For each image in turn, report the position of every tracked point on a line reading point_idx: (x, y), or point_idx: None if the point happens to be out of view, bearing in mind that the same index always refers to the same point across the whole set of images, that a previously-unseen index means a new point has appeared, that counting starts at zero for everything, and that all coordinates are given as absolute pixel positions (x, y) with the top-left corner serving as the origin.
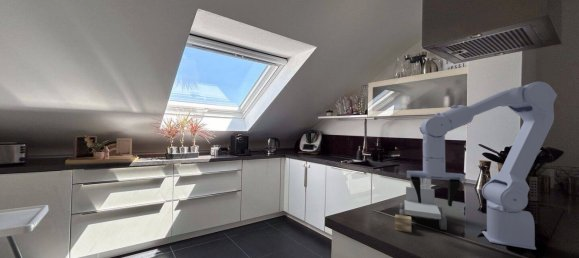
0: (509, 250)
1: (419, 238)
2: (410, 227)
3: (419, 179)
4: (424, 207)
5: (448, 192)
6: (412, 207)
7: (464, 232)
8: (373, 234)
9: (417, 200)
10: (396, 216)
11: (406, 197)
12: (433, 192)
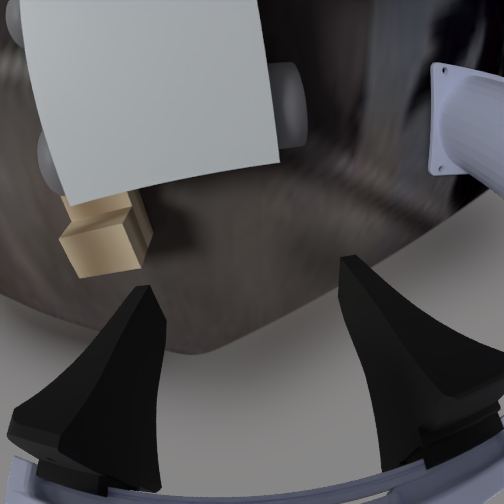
0: (451, 205)
1: (195, 272)
2: (146, 244)
3: (134, 488)
4: (156, 48)
5: (379, 332)
6: (85, 117)
7: (366, 88)
8: (81, 316)
9: None
10: (77, 265)
11: None
12: None
